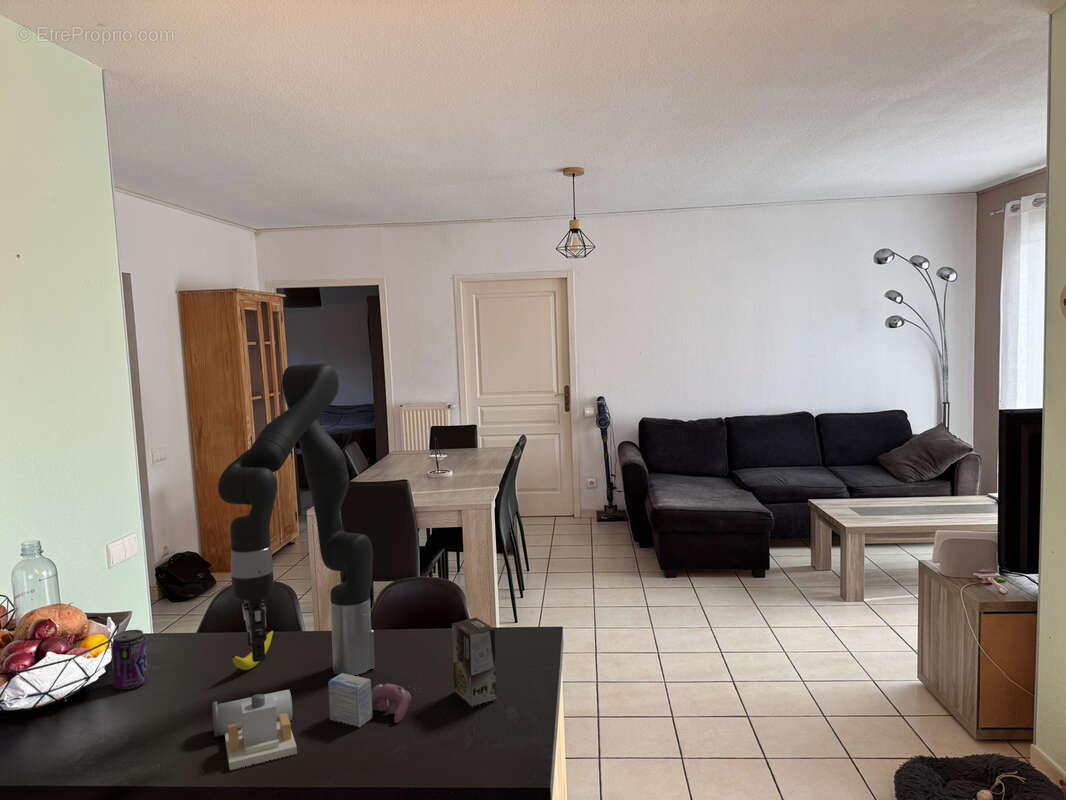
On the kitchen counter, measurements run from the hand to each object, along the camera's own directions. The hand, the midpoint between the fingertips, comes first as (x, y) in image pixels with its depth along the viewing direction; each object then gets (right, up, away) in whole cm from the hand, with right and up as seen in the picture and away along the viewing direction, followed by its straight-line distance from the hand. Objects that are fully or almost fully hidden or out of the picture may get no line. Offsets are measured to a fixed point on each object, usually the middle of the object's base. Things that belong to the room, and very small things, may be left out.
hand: (256, 652), depth 145 cm
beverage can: (-40, -18, +30) cm, 53 cm away
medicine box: (+16, -18, +12) cm, 27 cm away
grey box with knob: (0, -18, +1) cm, 18 cm away
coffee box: (+41, -17, +21) cm, 49 cm away
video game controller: (+23, -18, +14) cm, 32 cm away
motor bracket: (-1, -19, +4) cm, 19 cm away
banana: (-15, -17, +40) cm, 45 cm away
